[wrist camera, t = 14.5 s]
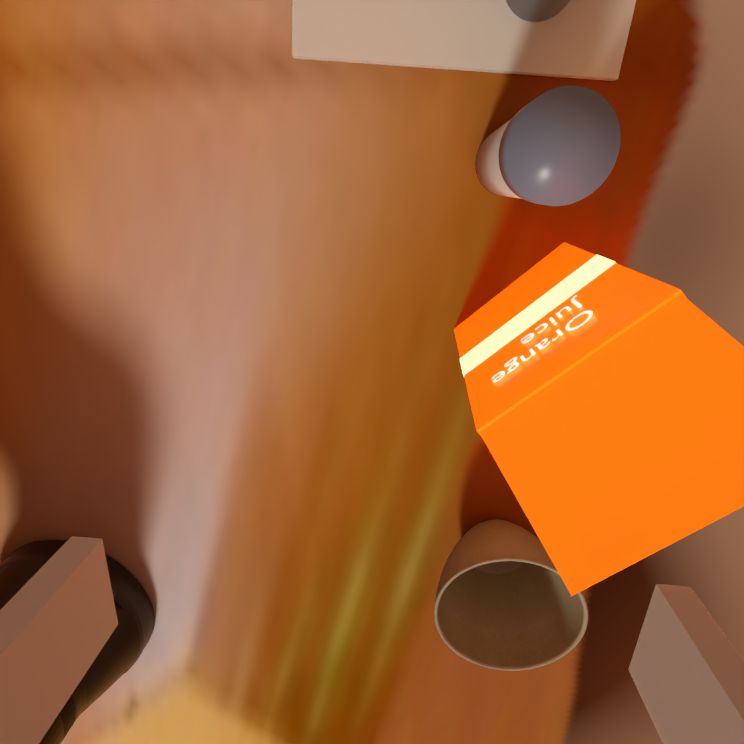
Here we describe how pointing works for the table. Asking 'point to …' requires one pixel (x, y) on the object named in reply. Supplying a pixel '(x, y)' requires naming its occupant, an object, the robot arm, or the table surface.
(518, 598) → the flower pot
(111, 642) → the robot arm
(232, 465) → the table surface
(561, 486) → the orange juice
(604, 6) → the paper
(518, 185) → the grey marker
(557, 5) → the marker
